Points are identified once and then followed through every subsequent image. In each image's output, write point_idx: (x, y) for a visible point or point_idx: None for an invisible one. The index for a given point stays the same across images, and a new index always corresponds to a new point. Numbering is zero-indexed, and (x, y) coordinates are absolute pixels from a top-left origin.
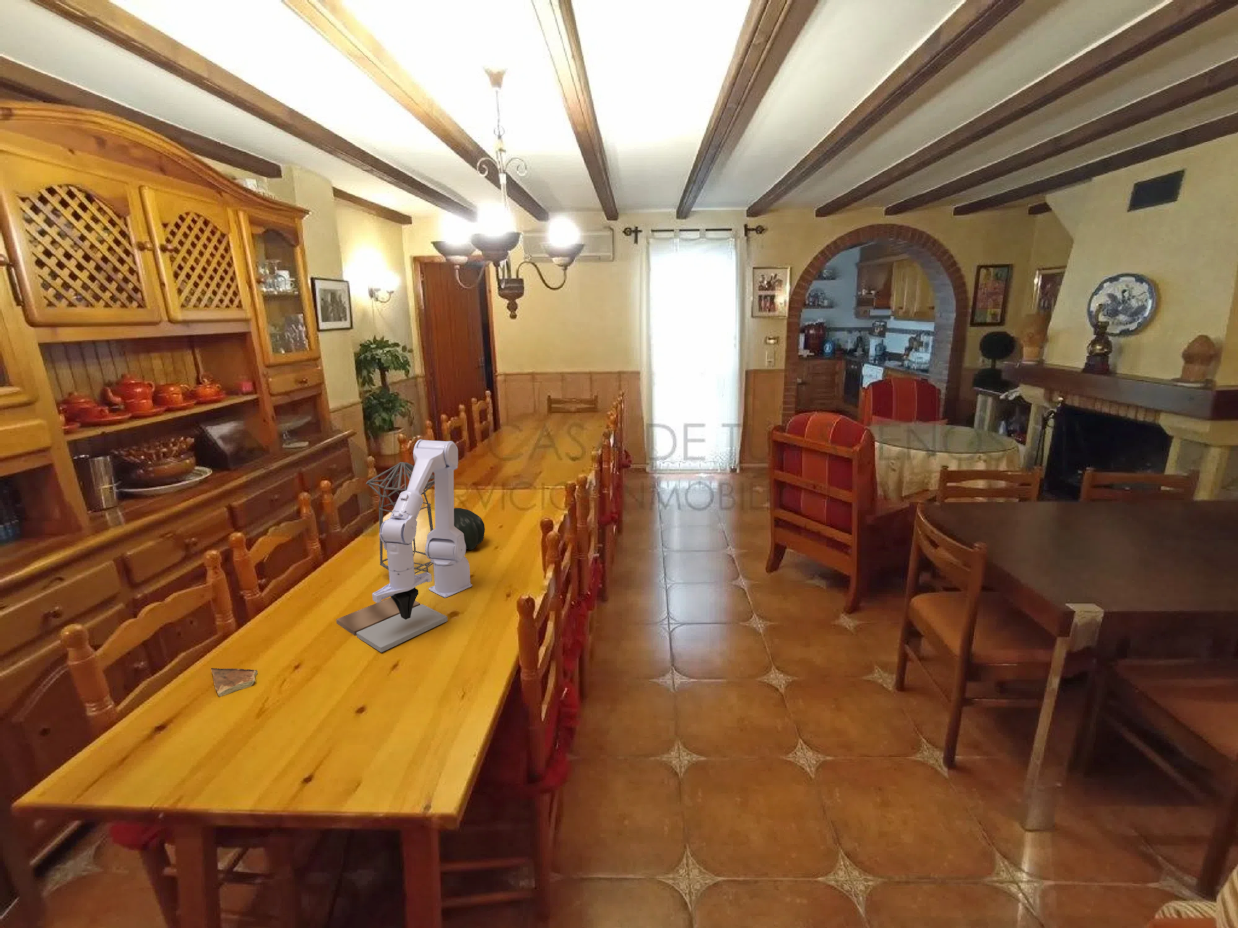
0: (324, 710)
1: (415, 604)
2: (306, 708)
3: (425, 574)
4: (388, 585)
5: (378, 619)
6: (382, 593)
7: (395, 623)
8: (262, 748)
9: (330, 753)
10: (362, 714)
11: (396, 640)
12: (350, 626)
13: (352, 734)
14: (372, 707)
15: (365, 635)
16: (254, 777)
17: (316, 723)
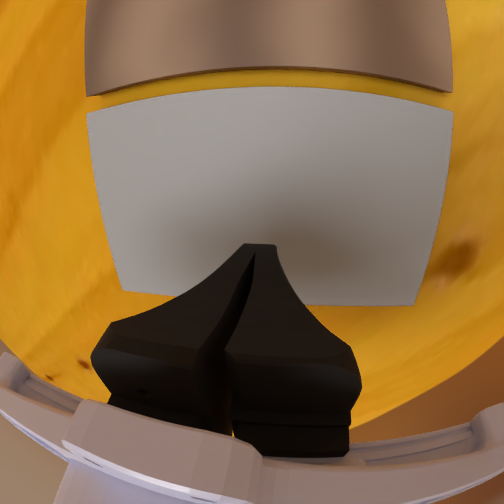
0: (41, 326)
1: (433, 78)
2: (20, 302)
3: (470, 487)
4: (56, 436)
5: (204, 54)
6: (36, 441)
7: (241, 168)
8: (3, 317)
9: (60, 376)
10: (86, 370)
11: (178, 295)
12: (93, 43)
13: (77, 379)
14: None
15: (101, 167)
16: (11, 341)
17: (38, 336)
